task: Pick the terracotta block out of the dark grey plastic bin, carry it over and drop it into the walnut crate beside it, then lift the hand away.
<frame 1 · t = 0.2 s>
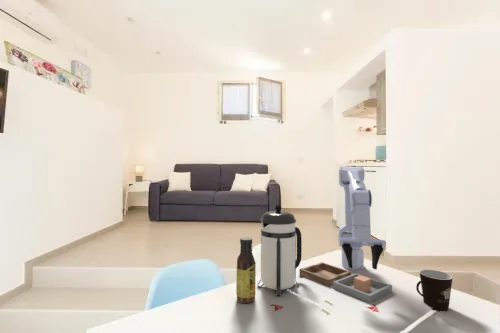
hand: (362, 268, 92), 10 cm above the table, tool pointing down, fingers open, 7 cm apart
walnut crate: (324, 277, 110), on the table
coffee press: (279, 287, 102), on the table
grey bin: (362, 292, 97), on the table
coffee mug: (430, 306, 87), on the table
sauce bottle: (245, 300, 92), on the table
terracotta block: (362, 289, 98), point 1 cm above the table, touching grey bin
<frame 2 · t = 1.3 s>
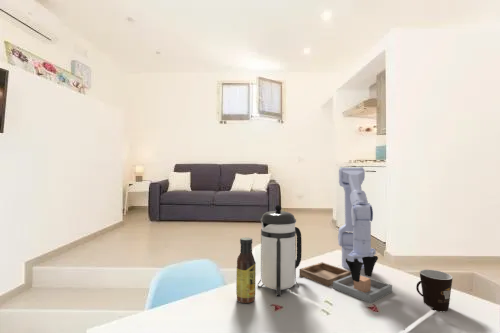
hand: (362, 278, 97), 5 cm above the table, tool pointing down, fingers open, 7 cm apart
nothing on the table moved.
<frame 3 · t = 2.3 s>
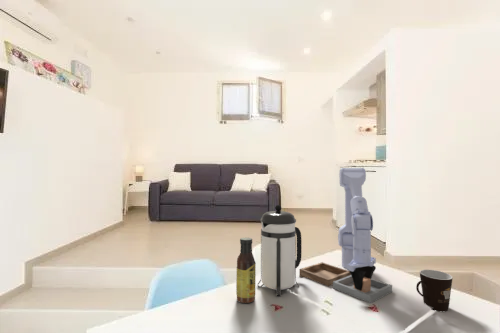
hand: (362, 287, 98), 2 cm above the table, tool pointing down, fingers closed on terracotta block, 4 cm apart
terracotta block: (362, 289, 98), point 1 cm above the table, touching grey bin, gripper
everything else where it was.
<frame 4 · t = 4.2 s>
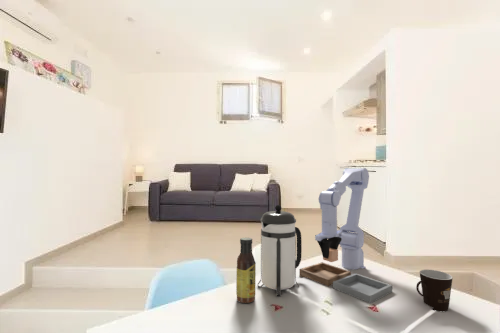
hand: (329, 256, 109), 9 cm above the table, tool pointing down, fingers closed on terracotta block, 4 cm apart
terracotta block: (330, 259, 108), point 8 cm above the table, touching gripper
everything else where it was.
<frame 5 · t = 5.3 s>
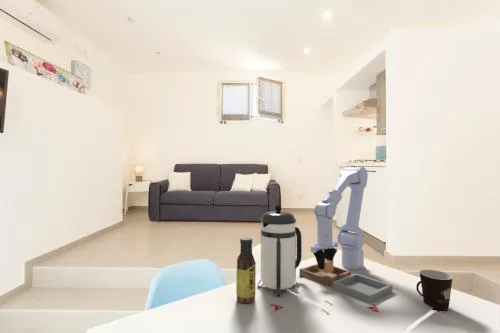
hand: (324, 267, 110), 4 cm above the table, tool pointing down, fingers closed on terracotta block, 4 cm apart
terracotta block: (325, 270, 110), point 3 cm above the table, touching gripper
everything else where it was.
when the fingers open (3 cm above the table, at t = 6.3 s): terracotta block drops 1 cm, resting on walnut crate.
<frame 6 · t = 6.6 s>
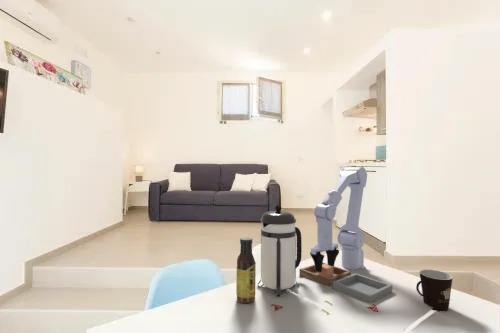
hand: (324, 269, 110), 3 cm above the table, tool pointing down, fingers open, 7 cm apart
terracotta block: (325, 276, 110), point 1 cm above the table, touching walnut crate
everything else where it was.
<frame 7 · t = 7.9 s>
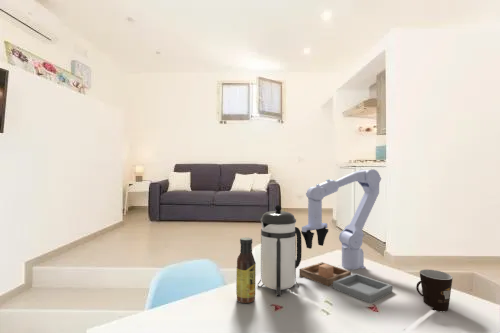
hand: (315, 246, 119), 10 cm above the table, tool pointing down, fingers open, 7 cm apart
nothing on the table moved.
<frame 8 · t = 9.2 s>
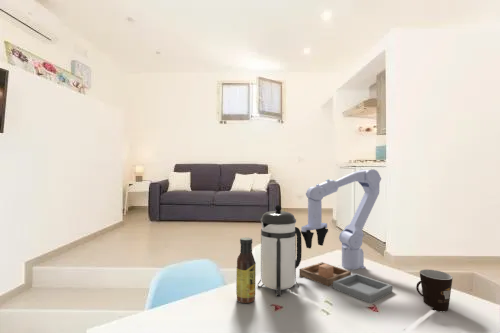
hand: (314, 246, 120), 10 cm above the table, tool pointing down, fingers open, 7 cm apart
nothing on the table moved.
at the end: terracotta block inside the target area on the walnut crate (0.5 cm from its centre), point 0.8 cm above the walnut crate's base; the gripper is holding nothing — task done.
